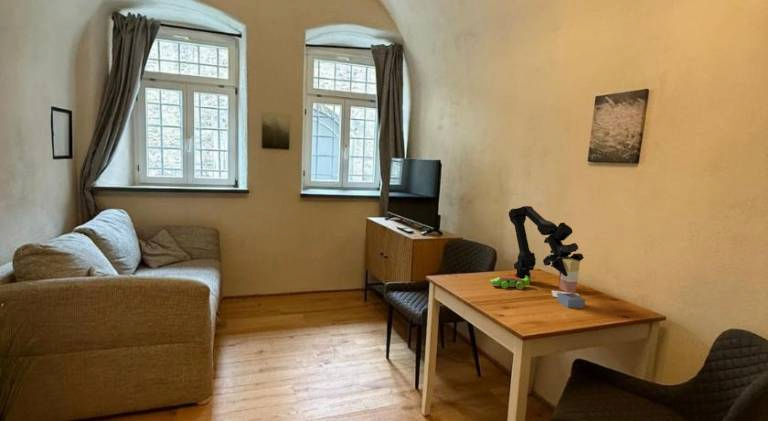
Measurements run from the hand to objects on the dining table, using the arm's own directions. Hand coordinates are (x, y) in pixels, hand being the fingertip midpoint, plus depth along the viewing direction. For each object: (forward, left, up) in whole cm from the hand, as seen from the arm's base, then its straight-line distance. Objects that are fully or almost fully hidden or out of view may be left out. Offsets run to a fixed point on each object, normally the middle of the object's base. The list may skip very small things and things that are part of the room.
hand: (571, 275), depth 188 cm
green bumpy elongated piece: (-28, +8, -13) cm, 32 cm away
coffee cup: (-3, +23, -13) cm, 27 cm away
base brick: (+1, -1, -13) cm, 13 cm away
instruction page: (-2, +11, -13) cm, 17 cm away
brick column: (-1, +1, -7) cm, 7 cm away
